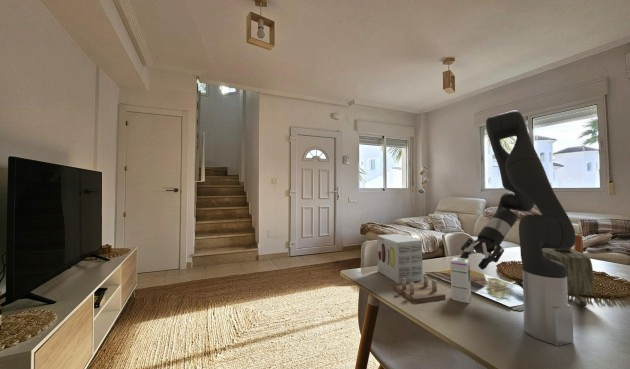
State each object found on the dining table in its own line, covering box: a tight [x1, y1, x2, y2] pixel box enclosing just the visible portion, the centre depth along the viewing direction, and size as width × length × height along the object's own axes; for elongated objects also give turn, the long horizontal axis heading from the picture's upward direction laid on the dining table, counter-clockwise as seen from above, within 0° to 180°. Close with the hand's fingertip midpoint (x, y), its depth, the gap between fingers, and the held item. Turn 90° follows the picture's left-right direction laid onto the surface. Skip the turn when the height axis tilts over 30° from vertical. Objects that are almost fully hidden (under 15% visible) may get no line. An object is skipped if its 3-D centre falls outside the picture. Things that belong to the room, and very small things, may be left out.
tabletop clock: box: [542, 247, 594, 307], centre depth 93 cm, size 14×9×25 cm, turn 168°
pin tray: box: [394, 275, 447, 304], centre depth 98 cm, size 13×13×6 cm
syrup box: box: [449, 257, 472, 304], centre depth 94 cm, size 6×6×14 cm
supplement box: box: [376, 233, 424, 285], centre depth 119 cm, size 17×13×18 cm
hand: (470, 264), depth 95 cm, fingers open, 8 cm apart
